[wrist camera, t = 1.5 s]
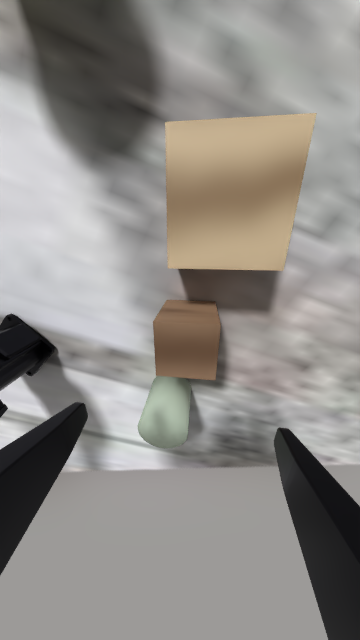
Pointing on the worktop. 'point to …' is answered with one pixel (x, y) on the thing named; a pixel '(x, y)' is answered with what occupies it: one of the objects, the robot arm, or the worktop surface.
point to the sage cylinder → (166, 412)
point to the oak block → (234, 190)
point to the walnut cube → (187, 339)
